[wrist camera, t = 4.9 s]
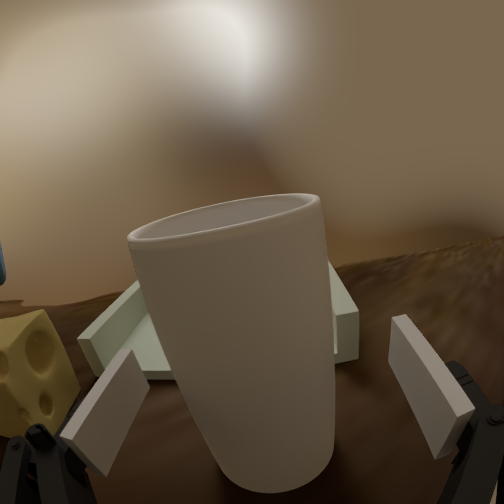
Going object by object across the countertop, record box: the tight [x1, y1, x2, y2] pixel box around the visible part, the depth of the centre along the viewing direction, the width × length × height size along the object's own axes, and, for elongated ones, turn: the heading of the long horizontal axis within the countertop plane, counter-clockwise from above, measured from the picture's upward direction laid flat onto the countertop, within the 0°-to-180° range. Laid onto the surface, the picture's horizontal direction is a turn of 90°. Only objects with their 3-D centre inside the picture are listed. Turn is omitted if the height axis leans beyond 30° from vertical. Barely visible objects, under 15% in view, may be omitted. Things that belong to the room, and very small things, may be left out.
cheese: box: [0, 309, 81, 442], centre depth 18 cm, size 10×11×10 cm
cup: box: [127, 194, 335, 493], centre depth 14 cm, size 8×8×16 cm
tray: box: [77, 261, 359, 379], centre depth 33 cm, size 18×28×6 cm, turn 87°
